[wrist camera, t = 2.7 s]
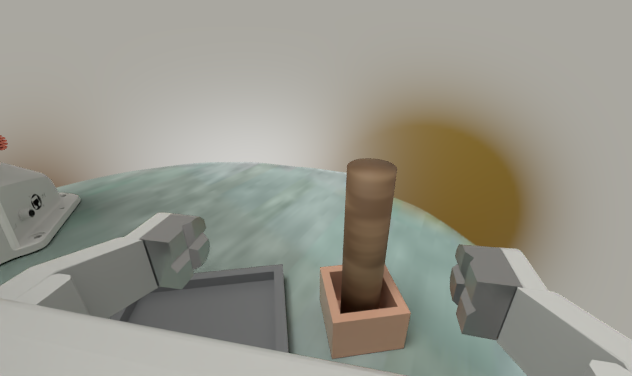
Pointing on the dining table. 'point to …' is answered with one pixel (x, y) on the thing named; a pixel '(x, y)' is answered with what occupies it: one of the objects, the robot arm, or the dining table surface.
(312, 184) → the dining table surface
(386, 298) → the pot
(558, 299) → the robot arm
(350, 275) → the dowel
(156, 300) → the tray
